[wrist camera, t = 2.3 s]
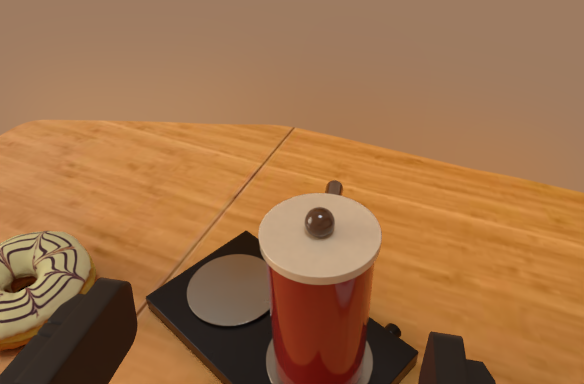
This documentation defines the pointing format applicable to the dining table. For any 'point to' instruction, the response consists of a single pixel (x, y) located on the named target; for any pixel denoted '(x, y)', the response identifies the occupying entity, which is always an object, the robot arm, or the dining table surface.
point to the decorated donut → (39, 281)
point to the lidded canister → (319, 284)
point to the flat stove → (252, 320)
